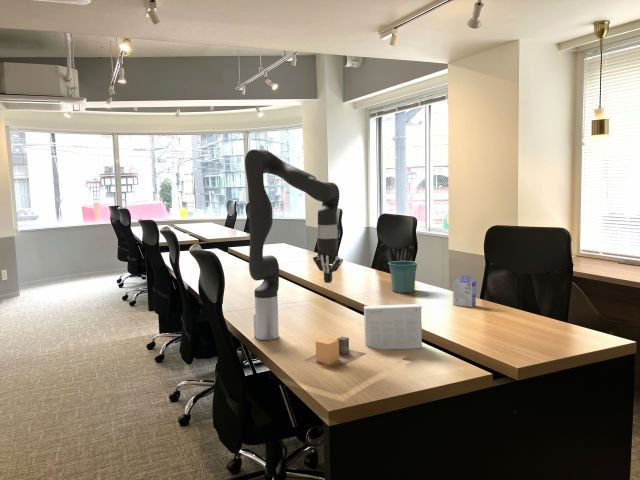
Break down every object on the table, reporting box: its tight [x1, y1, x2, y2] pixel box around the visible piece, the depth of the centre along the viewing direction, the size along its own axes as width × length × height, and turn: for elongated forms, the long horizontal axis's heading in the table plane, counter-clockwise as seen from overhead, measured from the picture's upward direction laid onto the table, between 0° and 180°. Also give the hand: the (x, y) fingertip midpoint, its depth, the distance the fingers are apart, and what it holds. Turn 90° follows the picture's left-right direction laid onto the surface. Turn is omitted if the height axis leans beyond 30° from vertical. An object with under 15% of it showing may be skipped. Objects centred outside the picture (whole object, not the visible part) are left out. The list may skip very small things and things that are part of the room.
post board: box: [304, 336, 367, 370], centre depth 177 cm, size 14×18×7 cm
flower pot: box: [387, 260, 418, 294], centre depth 284 cm, size 16×16×16 cm
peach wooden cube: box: [315, 336, 339, 364], centre depth 173 cm, size 6×6×7 cm
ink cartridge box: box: [452, 275, 477, 308], centre depth 250 cm, size 10×6×14 cm, turn 53°
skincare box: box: [363, 303, 423, 351], centre depth 190 cm, size 21×5×16 cm, turn 92°
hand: (328, 282), depth 190 cm, fingers closed
